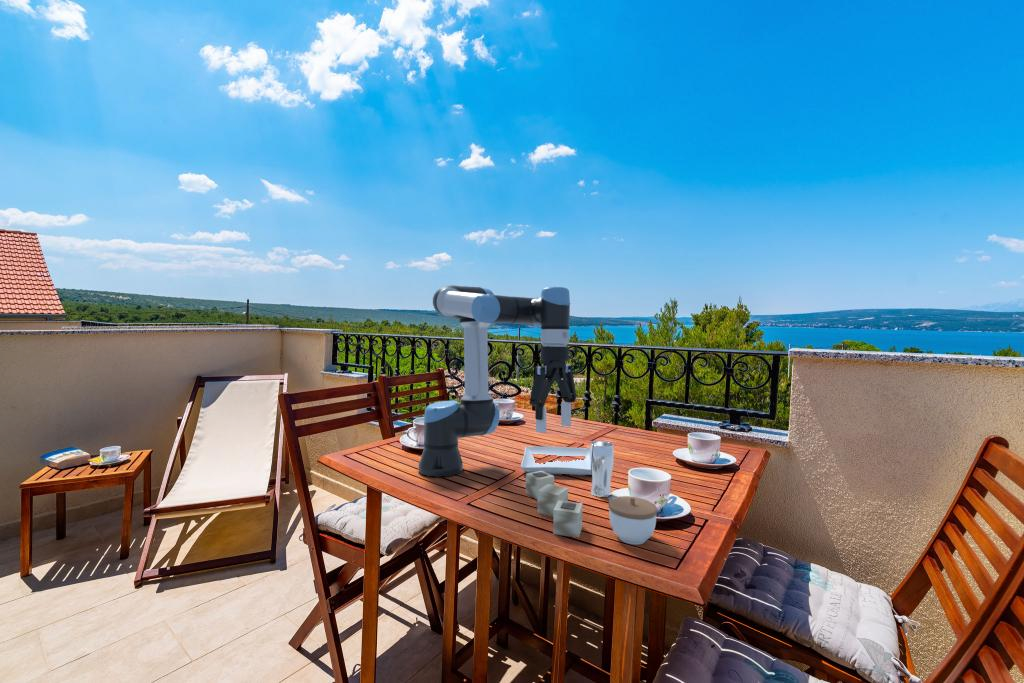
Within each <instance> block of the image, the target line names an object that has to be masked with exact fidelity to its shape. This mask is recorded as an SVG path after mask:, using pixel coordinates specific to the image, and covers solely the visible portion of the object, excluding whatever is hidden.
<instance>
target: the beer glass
mask: <svg viewBox="0 0 1024 683" xmlns="http://www.w3.org/2000/svg"><path fill="white" fill-rule="evenodd" d="M589 448H590V467H591V473H592V475H591V482H592V483H591V490H590V495H591V496H593V495H594V496H593V497H596V496H597V497H596V498H600V497H607V496H608V495H609V494H610V493H612V487H611V480H612V474H613V469H614V461H615V460H614V458H615V457H614V456H615V455H614V452H615V451H614V443H612V442H610V441H605V440H593V441H591V442H590V447H589ZM607 498H608V497H607Z"/></svg>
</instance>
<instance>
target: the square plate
mask: <svg viewBox="0 0 1024 683" xmlns="http://www.w3.org/2000/svg"><path fill="white" fill-rule="evenodd" d="M532 454H546V455H557V456H585V457H586V458H585V459H584V460H581V459H580V460H578V459H577V460H576V461H575V460H572V461H569V462H568V461H567V462H566V461H565V462H564V461H563V462H561V461H558V460H557V461H555V462H554V461H553V462H546V463H545V464H543V463H541V464H539V463H535V460H534V457H533V455H532ZM520 468H521V469H522V470H523V471H524V472H525V473H532V472H537V471H544V472H546V473H549V474H551V475H562V474H570V476H587V475H588V476H592V473H591V467H590V447H589V448H588V447H587V448H585V447H572V446H569V447H568V446H525V447H524V453H523V457H522V460H521V463H520Z"/></svg>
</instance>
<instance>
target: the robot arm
mask: <svg viewBox="0 0 1024 683" xmlns="http://www.w3.org/2000/svg"><path fill="white" fill-rule="evenodd" d="M570 305H571V300H570V290H569V289H568V288H567V287H564V286H562V287H561V286H547V287H544V288H543V289H541V293H540V296H539V297H524V296H510V295H509V296H508V295H498V294H497V295H496V294H494V292H493V291H492V290H491V289H488V288H483V287H481V286H478V287H477V286H466V285H464V286H463V285H453V284H451V285H445V286H442V287H440V288H439V289H437V290H436V291H435V293H434V294H433V297H432V306H433V308H434V310H435V312H437V313H438V314H440V315H441V316H442V317H445V318H452V319H459V325H460V326H461V327H462V328H463V348H464V350H463V351H464V352H463V353H464V354H463V355H464V358H463V360H464V363H463V364H464V395H462V397H461V398H460V404H459V401H457V400H442V401H436V402H432V403H431V404H427V406H426V407H425V410H424V417H423V423H424V424H423V426H424V427H423V451H422V454H421V457H420V461H419V462H418V470H419V471H418V473H419V472H420V473H421V474H420V473H419V474H420V475H422V474H424V475H427V476H426V477H429V476H435V477H434V478H442V477H441V476H447V477H451V476H450V475H453V476H456V475H458V473H459V474H460V473H462V472H463V470H464V462H463V460H462V455H461V453H460V449H459V439H462V438H471V437H475V436H476V437H478V436H482V437H484V436H485V435H491V434H492V433H494V432H495V430H496V429H497V428H498V425H499V423H500V409H499V406H498V404H497V403H496V402H494V400H493V396H492V395H491V394H490V393H489V358H488V357H489V356H488V354H489V353H488V351H489V350H488V344H489V342H488V328H489V326H490V325H492V324H514V325H516V324H517V325H525V326H533V325H541V326H540V344H541V345H542V346H541V347H540V360H542V361H543V364H542V366H537V365H536V366H535V367H534V378H533V384H532V388H531V394H530V399H529V405H531V406H532V407H534V410H535V432H537V433H542V434H547V407H546V406H545V404H546V402H547V398H548V396H549V393H550V391H551V388H552V385H553V384H555V382H556V383H557V386H558V389H559V392H560V394H561V397H562V399H563V401H561V404H560V406H561V408H560V410H561V411H560V412H561V413H560V414H561V415H560V425H561V426H564V427H568V428H569V427H571V424H572V403H575V402H576V400H577V396H578V395H577V390H576V384H575V380H574V379H575V378H574V374H573V373H574V372H573V371H574V369H573V368H574V366H573V365H572V364H566V362H567V361H569V359H570V347H569V346H567V345H569V344H570V315H571V314H570V311H571V310H570V308H571V307H570ZM461 471H462V472H461ZM455 474H456V475H455ZM424 475H423V476H424Z"/></svg>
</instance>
